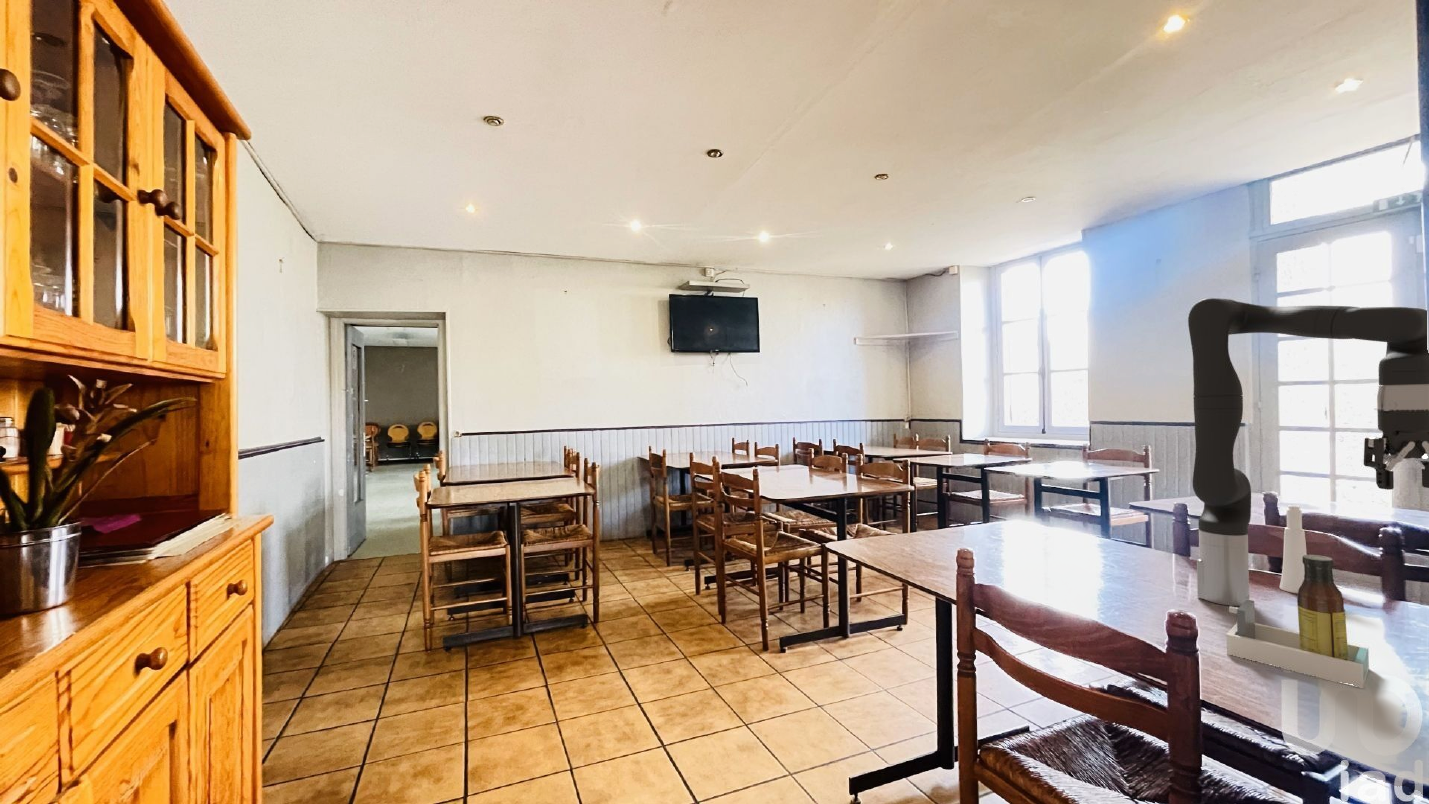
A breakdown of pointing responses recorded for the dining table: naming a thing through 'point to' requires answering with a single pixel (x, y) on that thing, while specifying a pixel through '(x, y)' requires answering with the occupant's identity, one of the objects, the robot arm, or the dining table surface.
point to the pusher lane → (1298, 655)
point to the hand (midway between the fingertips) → (1407, 488)
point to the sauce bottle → (1321, 610)
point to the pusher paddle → (1245, 619)
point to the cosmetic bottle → (1293, 551)
